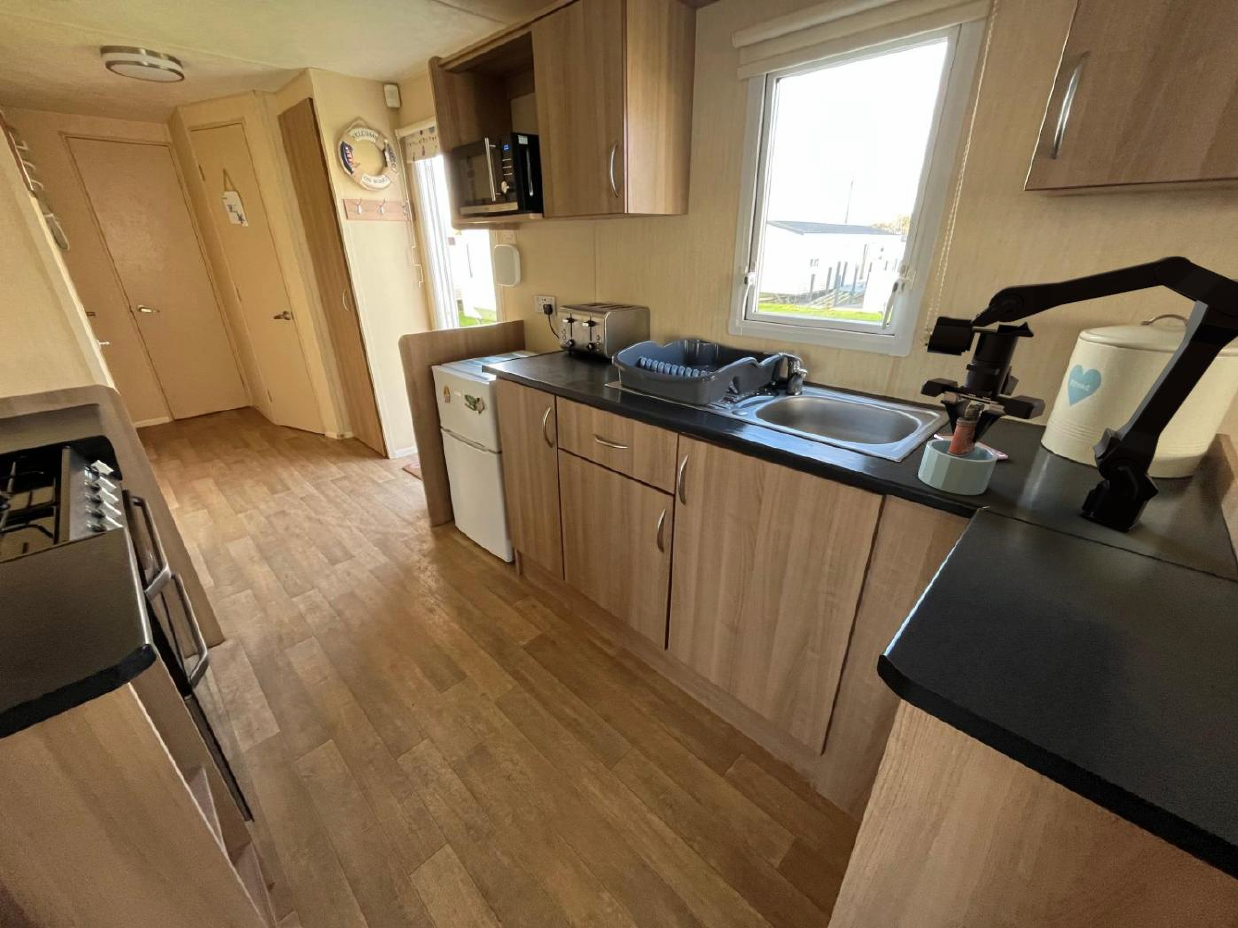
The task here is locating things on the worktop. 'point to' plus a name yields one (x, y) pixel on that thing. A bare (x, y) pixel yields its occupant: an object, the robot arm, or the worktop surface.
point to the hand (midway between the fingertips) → (965, 439)
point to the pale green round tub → (956, 468)
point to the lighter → (965, 432)
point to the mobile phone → (999, 454)
